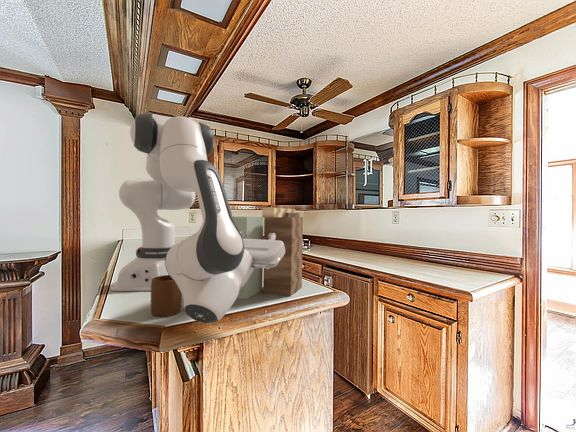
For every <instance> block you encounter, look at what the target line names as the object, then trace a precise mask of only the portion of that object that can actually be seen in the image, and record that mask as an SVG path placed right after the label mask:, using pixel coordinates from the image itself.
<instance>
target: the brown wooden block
mask: <svg viewBox="0 0 576 432" xmlns="http://www.w3.org/2000/svg"><path fill="white" fill-rule="evenodd" d="M303 219H304V218H303V216H300V212H295V213H285V217H263V240H269V238H268V235H269V233H275V235H276V239H275V240H279V241H282V242H283V243H284V246H285V254H284V256H283V257H282V259H281V260H280V261H279V263H278V265H277V266H275V267H272V268H270V269H264V268H263V279H262V291H263V293H264V294H268V295H269V294H271V295H276V296H278V295H280V296H285V295H286V296H287V297H292V296H293V295H295V294H296V293H297V292H298V291H299V290H300V289H302V287H303V286H302V285H303V233H304V231H303V230H304V229H303V228H304V227H303V225H304V224H303V223H304V220H303ZM291 295H292V296H291Z"/></svg>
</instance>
